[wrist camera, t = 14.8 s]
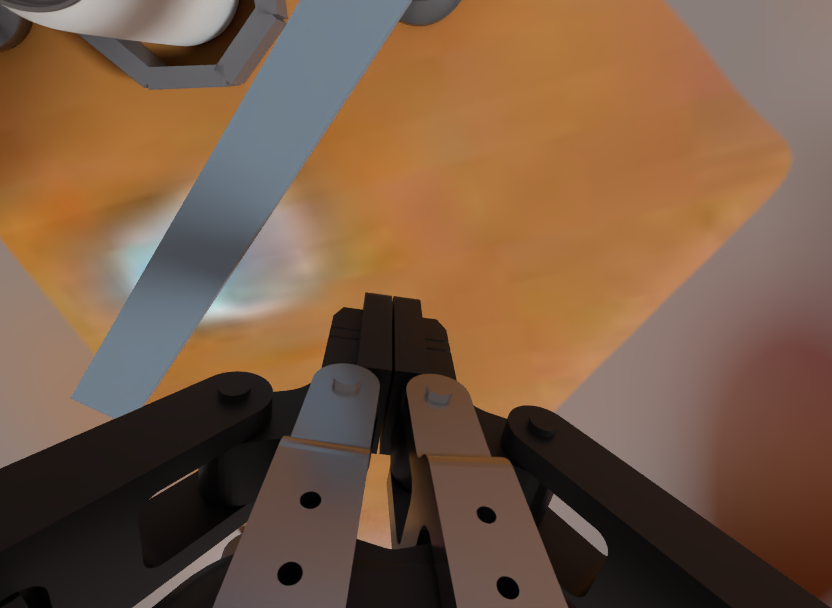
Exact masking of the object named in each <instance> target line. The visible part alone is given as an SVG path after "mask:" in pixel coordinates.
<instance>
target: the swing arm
mask: <svg viewBox="0 0 832 608" xmlns="http://www.w3.org/2000/svg"><path fill="white" fill-rule="evenodd" d="M411 2H412V0H300V2H299V3H298V5H297V7H296V9H295V10H294V12H293V14H292V15H291V17H290V19H289V21H288V22H287V24H286V26H285V28H284V29H283V31H282V33H281V34H280V36H279V38H278V40H277V41H276V43H275V45H274V47H273V48H272V50H271V52H270V54H269V55H268V57H267V59H266V60H265V62H264V64H263V66H262V67H261V69H260V71H259V73H258V74H257V76H256V78H255V80H254V81H253V83H252V85H251V86H250V88H249V90H248V92H247V93H246V95H245V97H244V99H243V100H242V102H241V104H240V105H239V107H238V109H237V111H236V112H235V114H234V116H233V118H232V119H231V121H230V123H229V125H228V126H227V128H226V130H225V131H224V133H223V135H222V137H221V138H220V140H219V142H218V144H217V145H216V147H215V149H214V151H213V152H212V154H211V156H210V157H209V159H208V161H207V163H206V164H205V166H204V168H203V170H202V171H201V173H200V175H199V176H198V178H197V180H196V182H195V183H194V185H193V187H192V189H191V190H190V192H189V194H188V196H187V197H186V199H185V201H184V202H183V204H182V206H181V208H180V209H179V211H178V213H177V215H176V216H175V218H174V220H173V222H172V223H171V225H170V227H169V228H168V230H167V232H166V234H165V235H164V237H163V239H162V241H161V242H160V244H159V246H158V247H157V249H156V251H155V253H154V254H153V256H152V258H151V260H150V261H149V263H148V265H147V267H146V268H145V270H144V272H143V273H142V275H141V277H140V279H139V280H138V282H137V284H136V286H135V287H134V289H133V291H132V293H131V294H130V296H129V298H128V299H127V301H126V303H125V305H124V306H123V308H122V310H121V312H120V313H119V315H118V317H117V318H116V320H115V322H114V324H113V325H112V327H111V329H110V331H109V332H108V334H107V336H106V338H105V339H104V341H103V343H102V344H101V346H100V348H99V350H98V351H97V353H96V355H95V357H94V358H93V360H92V362H91V364H90V365H89V367H88V369H87V370H86V372H85V374H84V376H83V377H82V379H81V381H80V383H79V384H78V386H77V388H76V390H75V391H74V393H73V395H72V396H71V399H73V400H75V401H78V402H80V403H82V404H84V405H86V406H89V407H91V408H93V409H95V410H97V411H99V412H101V413H103V414H106V415H108V416H110V417H112V418H114V419H116V418H118V417H120V416H122V415H125V414H127V413H129V412H132V411H134V410H136V409H139V408H141V407H143V406H144V404H145V403H146V402H147V400H148V399H149V397H150V396H151V395H152V393H153V392H154V391H155V389H156V388H157V386H158V385H159V383H160V382H161V380H162V379H163V377H164V376H165V374H166V373H167V371H168V370H169V368H170V366H171V365H172V363H173V362H174V360H175V359H176V357H177V356H178V354H179V353H180V351H181V350H182V348H183V347H184V345H185V344H186V342H187V341H188V339H189V338H190V336H191V335H192V333H193V332H194V330H195V329H196V327H197V326H198V324H199V323H200V321H201V320H202V318H203V317H204V315H205V314H206V312H207V311H208V309H209V307H210V306H211V304H212V303H213V301H214V300H215V298H216V297H217V295H218V294H219V292H220V291H221V289H222V288H223V286H224V285H225V283H226V282H227V280H228V279H229V277H230V276H231V274H232V273H233V271H234V270H235V268H236V267H237V265H238V264H239V262H240V261H241V259H242V258H243V256H244V255H245V253H246V251H247V250H248V248H249V247H250V245H251V244H252V242H253V241H254V239H255V238H256V236H257V235H258V233H259V232H260V230H261V229H262V227H263V226H264V224H265V223H266V221H267V220H268V218H269V217H270V215H271V214H272V212H273V211H274V209H275V208H276V206H277V205H278V203H279V202H280V200H281V199H282V197H283V196H284V194H285V192H286V191H287V189H288V188H289V186H290V185H291V183H292V182H293V180H294V179H295V177H296V176H297V174H298V173H299V171H300V170H301V168H302V167H303V165H304V164H305V162H306V161H307V159H308V158H309V156H310V155H311V153H312V152H313V150H314V149H315V147H316V146H317V144H318V143H319V141H320V140H321V138H322V136H323V135H324V133H325V132H326V130H327V129H328V127H329V126H330V124H331V123H332V121H333V120H334V118H335V117H336V115H337V114H338V112H339V111H340V109H341V108H342V106H343V105H344V103H345V102H346V100H347V99H348V97H349V96H350V94H351V93H352V91H353V90H354V88H355V87H356V85H357V84H358V82H359V81H360V79H361V77H362V76H363V74H364V73H365V71H366V70H367V68H368V67H369V65H370V64H371V62H372V61H373V59H374V58H375V56H376V55H377V53H378V52H379V50H380V49H381V47H382V46H383V44H384V43H385V41H386V40H387V38H388V37H389V35H390V34H391V32H392V31H393V29H394V28H395V26H396V25H397V23H398V22H399V20H400V18H401V17H402V15H403V14H404V12H405V11H406V9H407V8H408V6H409V5H410V3H411Z"/></svg>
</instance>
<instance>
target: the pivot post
mask: <svg viewBox="0 0 832 608" xmlns="http://www.w3.org/2000/svg"><path fill="white" fill-rule="evenodd" d="M460 1H461V0H412V2H411V3H410V5H409V6H408V8H407V9H406V11H405V12H404V14H403V15H402V17H401V18H400V20H399V21H400V22H402V23H405V24H407V25H411V26H427V25H431V24H434V23H436V22H439V21H440V20H442V19H444V18H445V17H446V16H447V15H449V14H450V13H451V12H452V11H453V10H454V9H455V8H456V6H457V5H458V4H459V2H460Z"/></svg>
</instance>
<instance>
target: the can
mask: <svg viewBox="0 0 832 608" xmlns="http://www.w3.org/2000/svg"><path fill="white" fill-rule="evenodd" d="M0 4H1V5H3V6H5V7H6V8H8V9H9V10H11V11H12V12H14V13H16V14H17V15H19V16H21V17H23V18H25V19H27V20H29V21H32V22H34V23H37V24H40V25H43V26H46V27H49V28H52V29H56V30H61V31H67V32H72V33H79V34H86V35H94V36H101V37H109V38H117V39H125V40H133V41H141V42H150V43H158V44H167V45H176V46H194V45H199V44H202V43H205V42H207V41H210V40H212V39H213V38H215V37H217V36H218V35H220V34H221V33H222V32H223V31H224V30H225V29H226V28H227V27H228V26H229V24H230V23H231V21H232V19H233V17H234V15H235V13H236V10H237V7H238V4H239V0H0Z"/></svg>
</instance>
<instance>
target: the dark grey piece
mask: <svg viewBox="0 0 832 608" xmlns="http://www.w3.org/2000/svg"><path fill="white" fill-rule="evenodd" d="M32 23H33V22H32V21H29V20H27V19H25V18H23V17H21V16H19V15H17V14H16V13H14V12H12V11H11V10H9V9H8V8H6V7H5V6H3V5H1V4H0V52H3V51H6V50H10V49H12V48H14V47H16V46H17V45H18V44H20V43H21V42H22V41H23V40H24V39H25V38H26V36H27V35H28V33H29V31H30V29H31V27H32Z"/></svg>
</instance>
